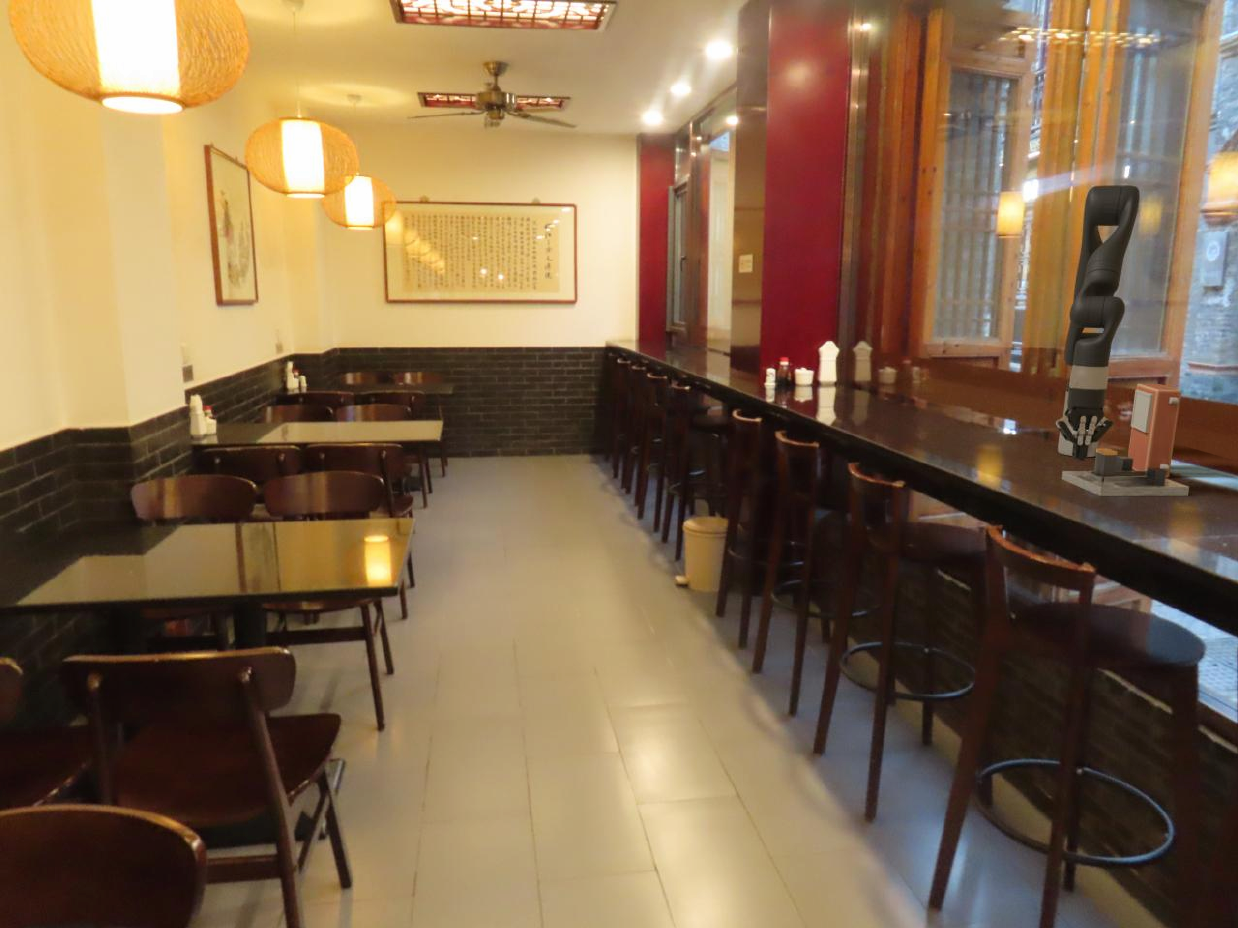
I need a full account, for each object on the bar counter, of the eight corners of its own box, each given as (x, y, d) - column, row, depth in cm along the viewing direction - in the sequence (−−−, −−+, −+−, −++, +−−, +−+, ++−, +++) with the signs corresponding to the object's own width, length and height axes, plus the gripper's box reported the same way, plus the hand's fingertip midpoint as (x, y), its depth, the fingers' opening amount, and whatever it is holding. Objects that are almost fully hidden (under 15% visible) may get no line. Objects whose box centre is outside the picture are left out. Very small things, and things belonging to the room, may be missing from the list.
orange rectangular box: (1150, 465, 220) (1174, 478, 205) (1120, 464, 221) (1143, 477, 207) (1161, 383, 215) (1187, 391, 201) (1131, 382, 216) (1155, 390, 202)
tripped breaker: (1093, 474, 198) (1096, 448, 197) (1105, 474, 198) (1108, 448, 197) (1102, 478, 195) (1105, 451, 193) (1114, 478, 195) (1117, 451, 193)
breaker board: (1061, 479, 205) (1064, 456, 204) (1143, 478, 205) (1146, 455, 204) (1099, 495, 189) (1103, 471, 188) (1187, 495, 190) (1191, 470, 188)
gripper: (1107, 383, 196) (1097, 456, 199) (1050, 383, 195) (1042, 456, 199) (1126, 387, 188) (1116, 463, 192) (1068, 387, 188) (1059, 463, 192)
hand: (1078, 460), depth 196 cm, fingers closed
